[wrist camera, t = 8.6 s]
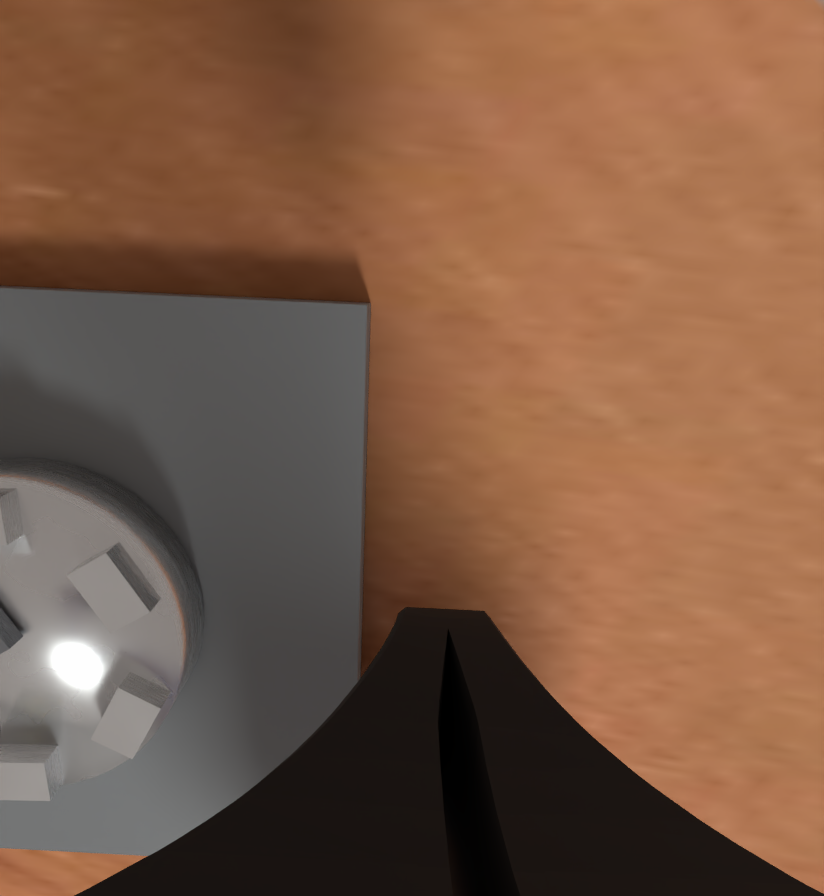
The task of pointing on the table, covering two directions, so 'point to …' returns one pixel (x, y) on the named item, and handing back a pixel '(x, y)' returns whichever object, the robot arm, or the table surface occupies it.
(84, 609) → the lathe jaw chuck
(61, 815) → the base plate
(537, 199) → the table surface
